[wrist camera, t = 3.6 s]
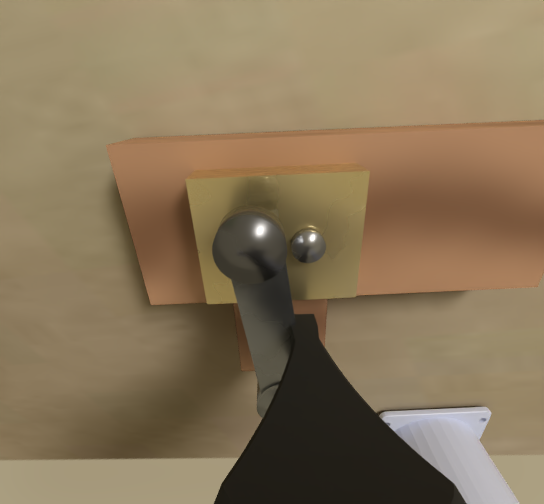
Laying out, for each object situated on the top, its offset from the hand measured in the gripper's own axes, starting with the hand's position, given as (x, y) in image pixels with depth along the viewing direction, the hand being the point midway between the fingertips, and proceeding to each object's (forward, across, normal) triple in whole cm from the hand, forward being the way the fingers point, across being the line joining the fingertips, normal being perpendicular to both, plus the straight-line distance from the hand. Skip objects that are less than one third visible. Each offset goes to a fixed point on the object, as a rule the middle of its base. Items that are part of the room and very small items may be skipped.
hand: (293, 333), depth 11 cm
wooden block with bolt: (+2, 0, -4) cm, 4 cm away
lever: (0, +1, -1) cm, 1 cm away
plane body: (+5, -2, -1) cm, 6 cm away
